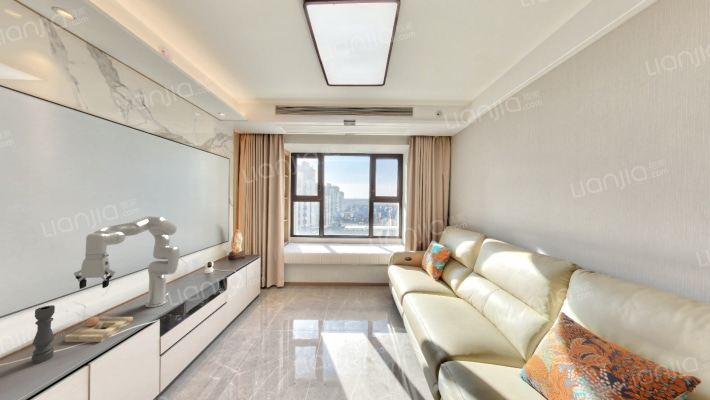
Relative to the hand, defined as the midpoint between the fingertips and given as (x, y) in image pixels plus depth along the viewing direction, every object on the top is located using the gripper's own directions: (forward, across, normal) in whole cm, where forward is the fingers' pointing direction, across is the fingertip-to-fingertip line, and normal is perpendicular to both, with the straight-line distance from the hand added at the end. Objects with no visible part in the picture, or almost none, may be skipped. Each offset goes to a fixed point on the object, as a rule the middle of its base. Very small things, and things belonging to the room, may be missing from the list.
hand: (94, 287), depth 124 cm
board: (+30, +3, -11) cm, 32 cm away
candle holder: (+30, +11, +11) cm, 34 cm away
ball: (+25, +8, -12) cm, 28 cm away
